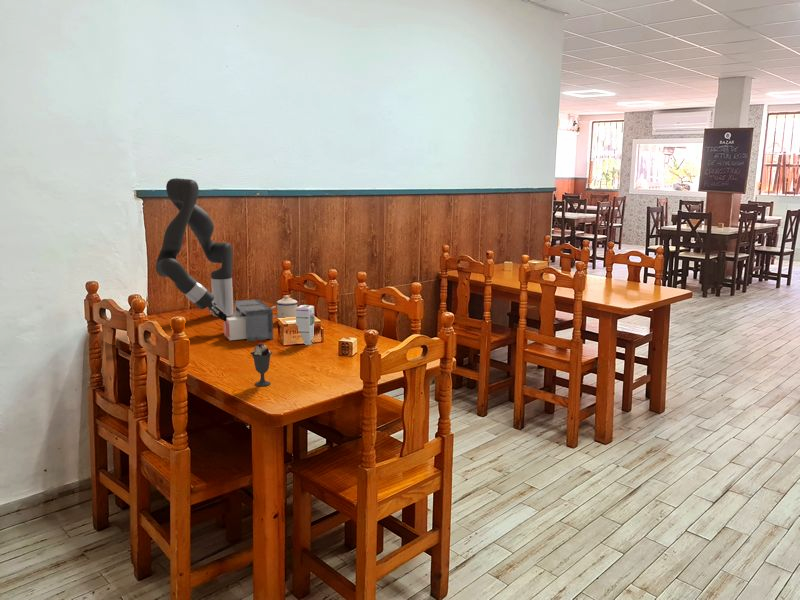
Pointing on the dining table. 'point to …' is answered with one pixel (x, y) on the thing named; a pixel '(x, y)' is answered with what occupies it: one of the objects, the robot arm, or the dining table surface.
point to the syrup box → (305, 322)
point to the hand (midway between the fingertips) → (231, 323)
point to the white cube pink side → (235, 328)
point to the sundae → (261, 362)
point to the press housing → (256, 318)
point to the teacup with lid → (285, 307)
